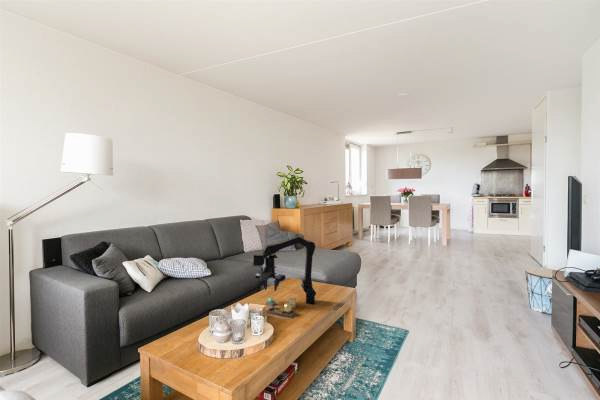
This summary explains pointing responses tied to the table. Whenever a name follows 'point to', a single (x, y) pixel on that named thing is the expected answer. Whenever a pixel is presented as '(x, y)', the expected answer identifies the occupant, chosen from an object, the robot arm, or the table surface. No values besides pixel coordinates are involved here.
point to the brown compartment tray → (280, 313)
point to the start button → (270, 300)
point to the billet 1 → (287, 308)
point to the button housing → (270, 303)
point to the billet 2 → (292, 302)
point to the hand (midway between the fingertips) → (270, 290)
